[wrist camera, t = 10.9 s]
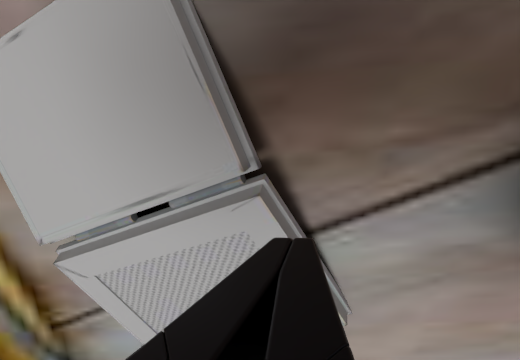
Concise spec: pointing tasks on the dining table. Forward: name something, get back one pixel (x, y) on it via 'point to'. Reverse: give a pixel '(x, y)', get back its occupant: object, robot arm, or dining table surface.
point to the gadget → (133, 156)
